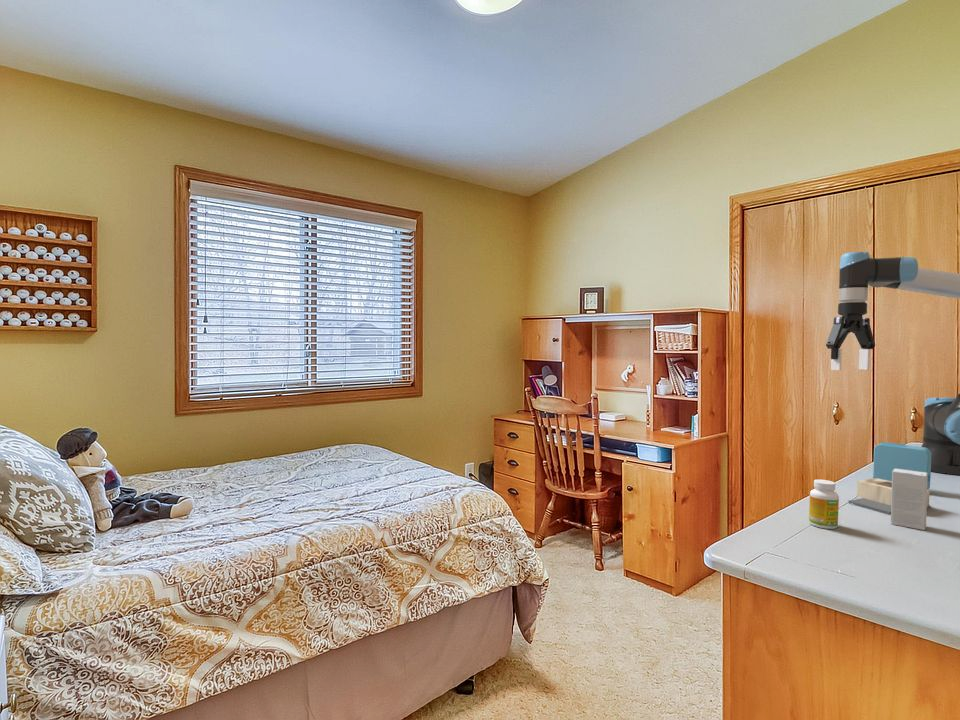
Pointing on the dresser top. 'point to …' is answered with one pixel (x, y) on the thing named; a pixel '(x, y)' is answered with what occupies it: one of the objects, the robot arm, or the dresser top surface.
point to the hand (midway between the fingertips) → (849, 369)
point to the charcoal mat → (872, 505)
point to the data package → (900, 460)
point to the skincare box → (909, 498)
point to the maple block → (878, 490)
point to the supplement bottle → (824, 505)
